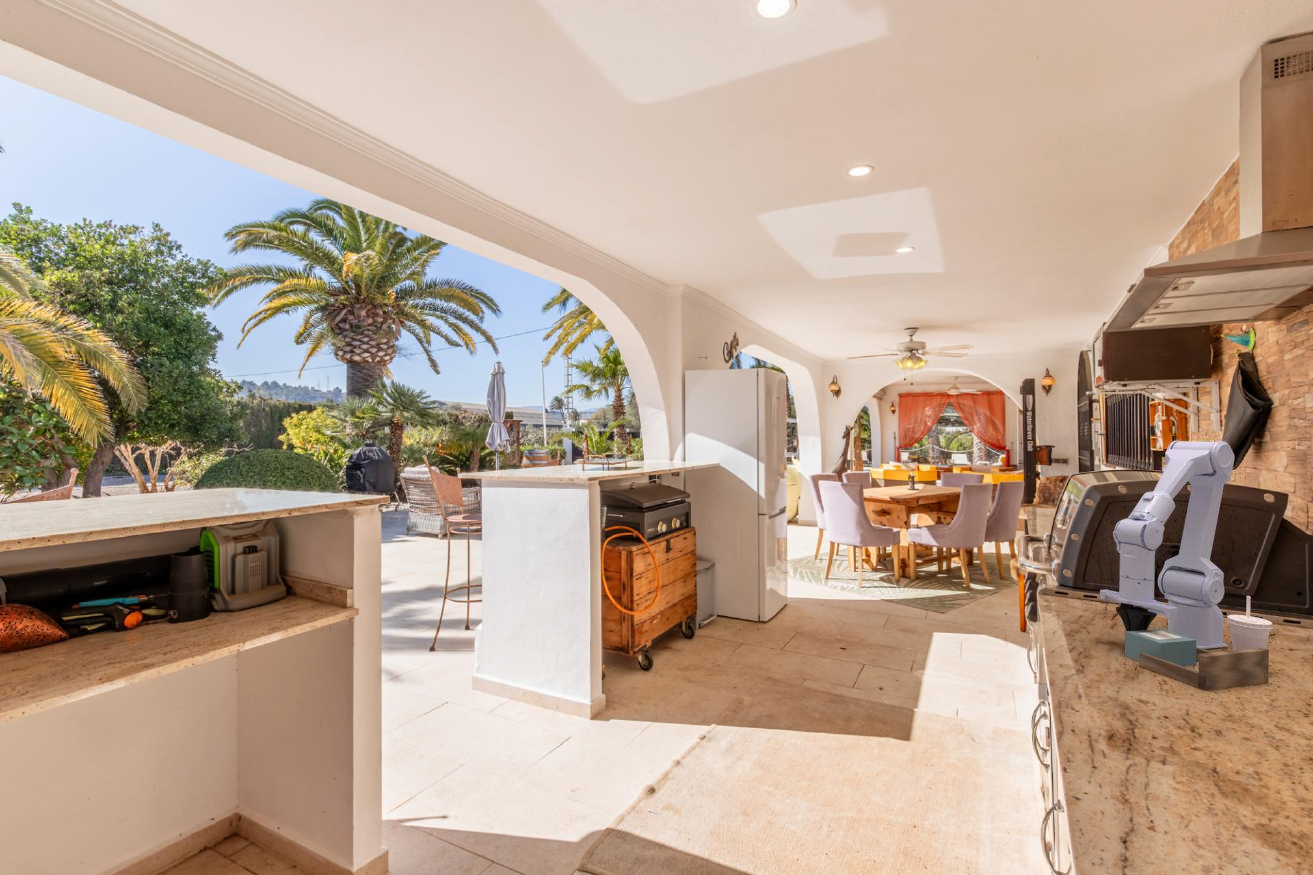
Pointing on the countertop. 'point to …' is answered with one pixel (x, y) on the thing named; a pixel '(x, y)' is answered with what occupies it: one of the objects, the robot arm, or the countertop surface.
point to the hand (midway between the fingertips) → (1135, 642)
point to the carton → (1161, 646)
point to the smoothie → (1248, 630)
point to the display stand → (1215, 668)
